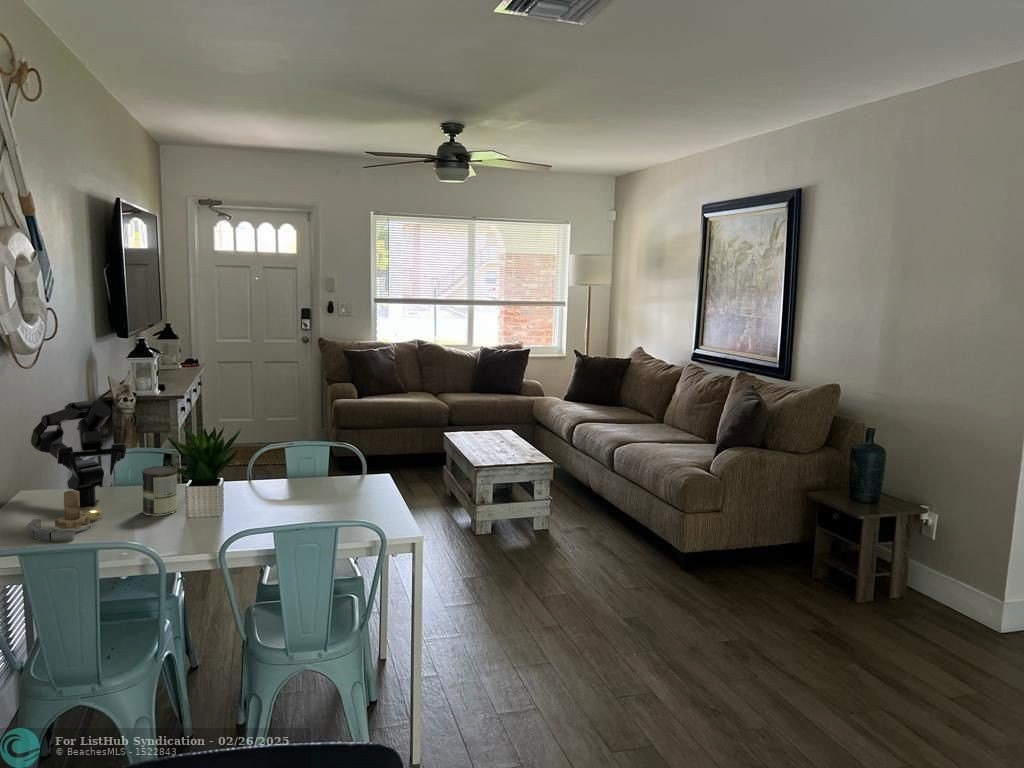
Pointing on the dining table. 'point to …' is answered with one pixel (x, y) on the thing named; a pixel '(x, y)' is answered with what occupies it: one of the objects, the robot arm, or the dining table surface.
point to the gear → (72, 512)
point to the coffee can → (159, 490)
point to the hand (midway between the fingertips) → (94, 476)
